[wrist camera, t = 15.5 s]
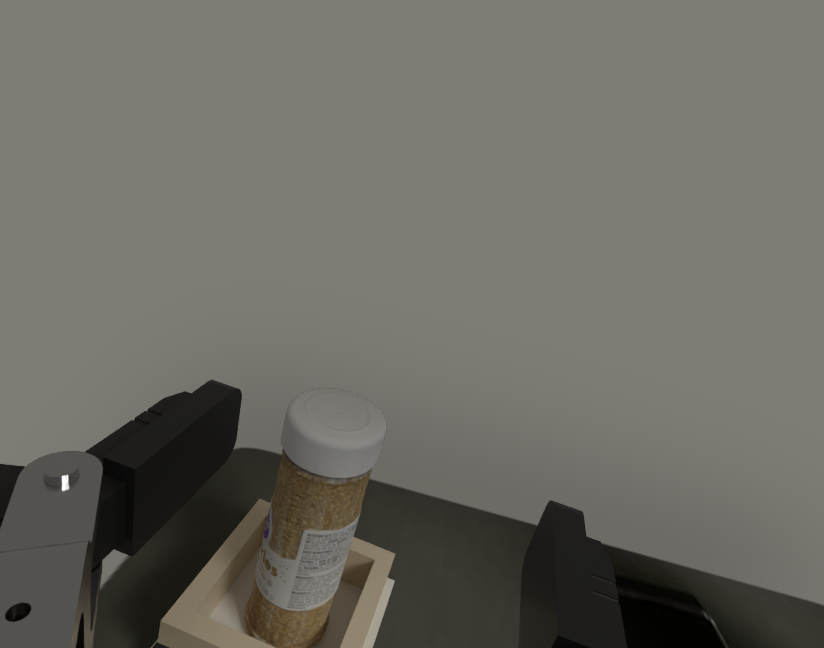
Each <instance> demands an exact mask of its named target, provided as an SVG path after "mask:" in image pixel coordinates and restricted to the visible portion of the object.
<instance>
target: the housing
mask: <svg viewBox="0 0 824 648" xmlns="http://www.w3.org/2000/svg"><path fill="white" fill-rule="evenodd" d="M269 507H270V503H269V502H266V501H264V500H261V499H259V500H258V501H257V503H256V504H255V505H254V506H253V508H252V509H251V510H250V511H249V513H248V514H247V515H246V516H245V517H244V519H243V520H242V521H241V522H240V524H239V525H238V526H237V527H236V529H235V530H234V531H233V532H232V533H231V535H230V536H229V537H228V538H227V540H226V541H225V542H224V543H223V545H222V546H221V547H220V548H219V549H218V551H217V552H216V553H215V554H214V556H213V557H212V558H211V559H210V561H209V562H208V563H207V564H206V565H205V567H204V568H203V569H202V570H201V572H200V573H199V574H198V575H197V577H196V578H195V579H194V580H193V581H192V583H191V584H190V585H189V586H188V588H187V589H186V590H185V591H184V593H183V594H182V595H181V596H180V598H179V599H178V600H177V601H176V602H175V604H174V605H173V606H172V607H171V609H170V610H169V611H168V612H167V614H166V615H165V616H164V617H163V618H162V620H161V622H160V629H159V637H158V639H157V641H156V642H158V643H160V644H162V645H165V646H167V647H169V648H275V647H273V646H271V645H268V644H266V643H264V642H262V641H259V640H257V639H255V638H253V637H251V636H250V635H249V633H248V631H247V629H246V623H245V619H244V617H245V609H246V605H247V602H248V600H249V598H250V596H251V593H252V589H253V584H254V580H255V575H256V574H255V573H256V565H257V561H258V556H259V552H260V548H261V544H262V540H263V535H264V531H265V526H266V522H267V517H268V512H269ZM394 557H395V554H394V553H392V552H390V551H387V550H385V549H382V548H380V547H377V546H375V545H372V544H370V543H367V542H365V541H362V540H360V539H357V538H355V537H353V539H352V543H351V546H350V549H349V553H348V556H347V559H346V563H345V566H344V569H343V572H342V576H341V579H340V582H339V585H338V588H337V590H336V592H335V593H334V597H333V601H332V604H331V607H330V611H329V622H328V625H327V629H326V631H325V633H324V634H323V636H322V638H321V640H320V641H318V642H317V643H316V644H315V645H314V646H313V647H311V648H373V645H374V642H375V639H376V636H377V633H378V630H379V627H380V624H381V621H382V618H383V615H384V612H385V609H386V606H387V603H388V600H389V597H390V594H391V591H392V588H393V585H394V582H395V581H394V580H392V579H389V578H387V577H388V574H389V571H390V568H391V565H392V562H393V559H394ZM156 642H155V643H156ZM155 643H154V644H153V646H154V645H155ZM153 646H152V647H153ZM152 647H151V648H152Z"/></svg>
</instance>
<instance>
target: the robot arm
mask: <svg viewBox="0 0 824 648" xmlns="http://www.w3.org/2000/svg"><path fill="white" fill-rule="evenodd" d="M241 397H242V394H241V391H240V389H237V388H234V387H231V386H229V385H226V384H223V383H220V382H217V381H214V380H210V381H208V382H207V383H205V384H204V385H203V386H201V387H200V388H198V389H197V390H196V391H194V392H193V393H188V392H182V393H179V394H175V395H172V396H169V397H166V398H164V399H162V400H161V401H159V402H158V403H156V404H155V405H153V406H152V407H151V408H149V409H148V411H147V412H146V411H144V412H143V413H142V414H140V415H139V416H137V417H136V418H135V420H134V421H133V420H132V421H130V422H128V423H127V424H125V425H124V426H122V427H121V428H120V429H118V430H117V431H115V432H114V433H112V434H111V435H109V436H108V437H106V438H105V439H103V440H102V441H100V442H99V443H97V444H96V445H94V446H93V447H91V448H90V449H89V450H87V451H86V452H79V451H65V452H57V453H52V454H49V455H46V456H43V457H41V458H38V459H37V460H35V461H33V462H32V463H30V464H28V465H27V466H26V467H24V466H14V465H5V464H0V648H92V646H93V638H94V630H95V622H96V614H97V606H98V598H99V590H100V581H101V574H102V560H103V559H104V558H105V557H106V556H107V555H108V554H109V553H110V552H111V551H112V550H113V549H115V550H117V551H120V552H122V553H125V554H127V555H129V556H133V555H134V554H135V553H136V552H137V551H138V550H139V549H140V548H141V547H142V546H143V545H144V544H145V543H146V542H147V541H148V540H149V539H150V538H151V537H152V536H153V535H154V534H155V533H156V532H157V531H158V530H159V529H160V528H161V527H162V526H163V525H164V524H165V523H166V522H167V521H168V520H169V519H170V518H171V517H172V516H173V515H174V514H175V513H176V512H177V511H178V510H179V509H180V508H181V507H182V506H183V505H184V504H185V503H186V502H187V501H188V500H189V499H190V498H191V497H192V496H193V495H194V493H195V492H196V491H197V490H198V489H199V488H200V487H201V486H202V485H203V484H204V483H205V482H206V481H207V480H208V479H209V478H210V477H211V476H212V475H213V474H214V473H215V472H216V471H217V470H218V469H219V468H220V467H221V466H222V465H223V464H224V463H225V462H226V461H227V459H228V458H229V456H230V454H231V453H232V451H233V448H234V446H235V442H236V438H237V430H238V421H239V414H240V406H241V399H242V398H241ZM615 584H616V580H615V574H614V568H613V563H612V561H611V559H610V557H609V556H608V554H607V552H606V550H605V549H604V547H603V545H602V544H601V542H600V541H597V540H594V539H592V538H589V537H586V531H585V522H584V515H583V512H582V511H580V510H577V509H574V508H571V507H568V506H566V505H563V504H560V503H557V502H554V501H549V502H548V504H547V506H546V508H545V510H544V513H543V515H542V517H541V519H540V522H539V524H538V526H537V528H536V531H535V533H534V535H533V538H532V540H531V542H530V544H529V547H528V549H527V552H526V555H525V559H524V563H523V569H522V579H521V603H520V626H519V648H627V644H626V638H625V632H624V627H623V621H622V615H621V609H620V604H619V603H618V600H619V598H618V592H617V587H616V586H615ZM152 648H169V647H167V646H165V645H162V644H160V643H158V642H156V643H155V645H154V646H153V647H152Z"/></svg>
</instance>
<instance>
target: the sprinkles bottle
mask: <svg viewBox="0 0 824 648" xmlns="http://www.w3.org/2000/svg"><path fill="white" fill-rule="evenodd" d="M386 430H387V425H386V420H385V417H384V416H383V413H382V412H381V411H380V409H379V408H378V407H377V406H376V405H374V404H373V403H372V402H370V401H369V400H367V399H366V398H364V397H362V396H360V395H358V394H355V393H352V392H349V391H345V390H341V389H334V388H319V389H312V390H309V391H306V392H303V393H301V394H299V395H298V396H296V397H295V398H294V399H293V400H292V402H291V403H290V405H289V406H288V410H287V413H286V418H285V422H284V427H283V432H282V437H281V443H282V446H283V451H282V452H283V454H282V457H281V464H280V467H279V471H278V476H277V481H276V485H275V490H274V494H273V497H272V499H271V503H270V507H269V512H268V517H267V522H266V526H265V531H264V535H263V540H262V544H261V548H260V552H259V556H258V561H257V565H256V573H255V574H256V575H255V580H254V584H253V589H252V593H251V596H250V598H249V600H248V602H247V605H246V609H245V617H244V619H245V623H246V629H247V631H248V633H249V635H250V636H251V637H253V638H255V639H257V640H259V641H262V642H264V643H266V644H268V645H271V646H273V647H275V648H311V647H313V646H314V645H315V644H316V643H317V642H318V641H320V640H321V638H322V636H323V634H324V633H325V631H326V629H327V625H328V622H329V611H330V607H331V604H332V601H333V597H334V593H335V592H336V590H337V588H338V585H339V582H340V579H341V576H342V572H343V569H344V566H345V563H346V559H347V556H348V553H349V549H350V546H351V543H352V539H353V536H354V532H355V529H356V526H357V522H358V519H359V515H360V512H361V506H362V505H361V504H362V500H363V498H364V494H365V490H366V487H367V484H368V480H369V476H370V473H371V470H372V467H373V466H374V465H375V464H376V463H377V461H378V459H379V456H380V453H381V450H382V446H383V442H384V438H385V435H386Z"/></svg>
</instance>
